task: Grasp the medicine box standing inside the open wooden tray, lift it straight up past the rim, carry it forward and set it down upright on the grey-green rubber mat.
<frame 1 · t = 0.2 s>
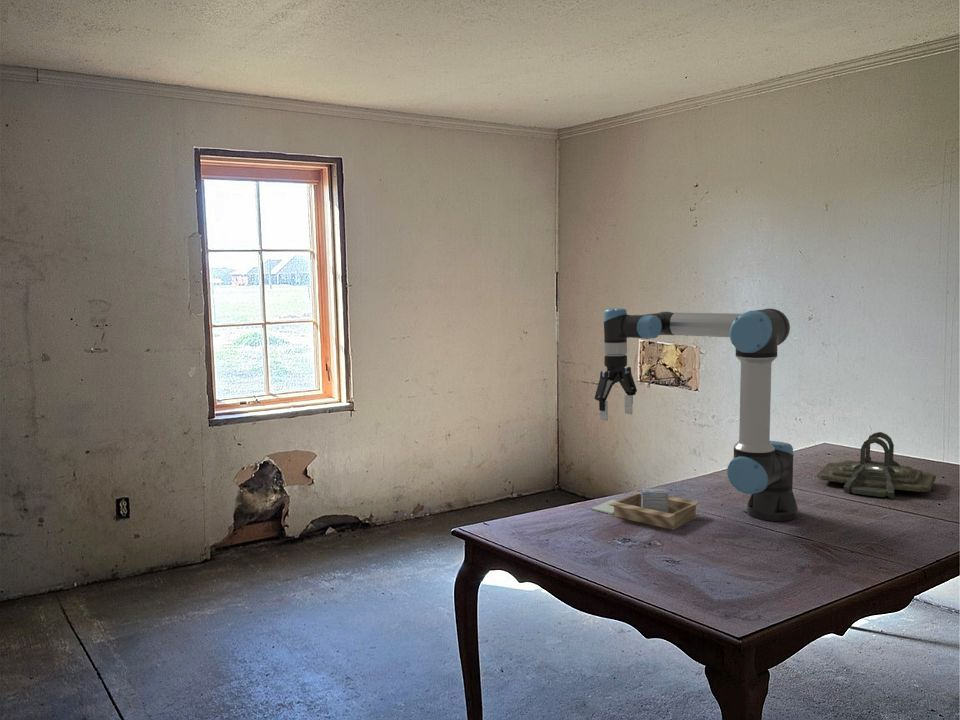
hand: (616, 417, 276), 28 cm above the table, fingers open, 13 cm apart
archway: (875, 486, 284), on the table
mat: (611, 507, 267), on the table
wooden tray: (654, 517, 256), on the table
medicine box: (654, 517, 256), resting in wooden tray
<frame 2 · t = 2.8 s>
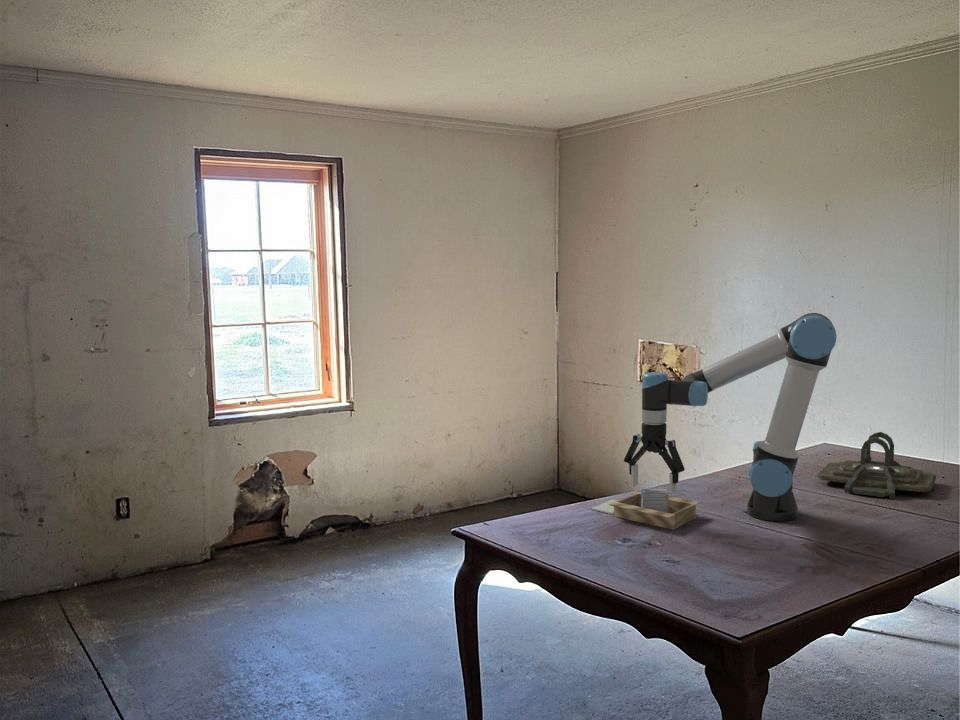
hand: (653, 489, 255), 9 cm above the table, fingers open, 13 cm apart
nothing on the table moved.
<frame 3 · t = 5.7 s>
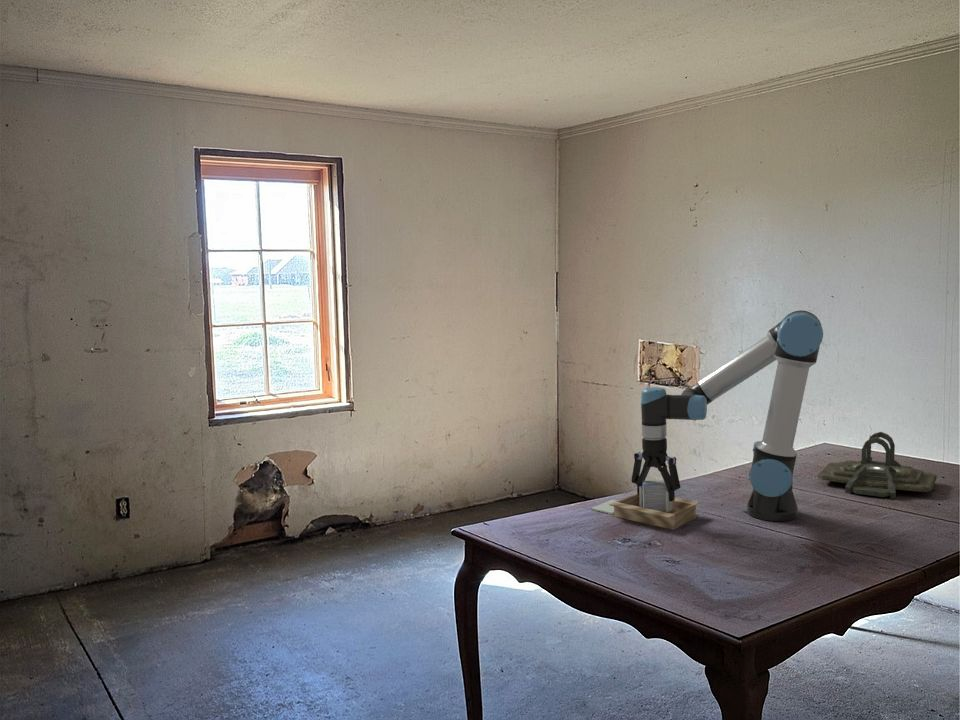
hand: (656, 508, 256), 3 cm above the table, fingers closed on medicine box, 9 cm apart
medicine box: (656, 509, 256), point 2 cm above the table, touching gripper
everything else where it was.
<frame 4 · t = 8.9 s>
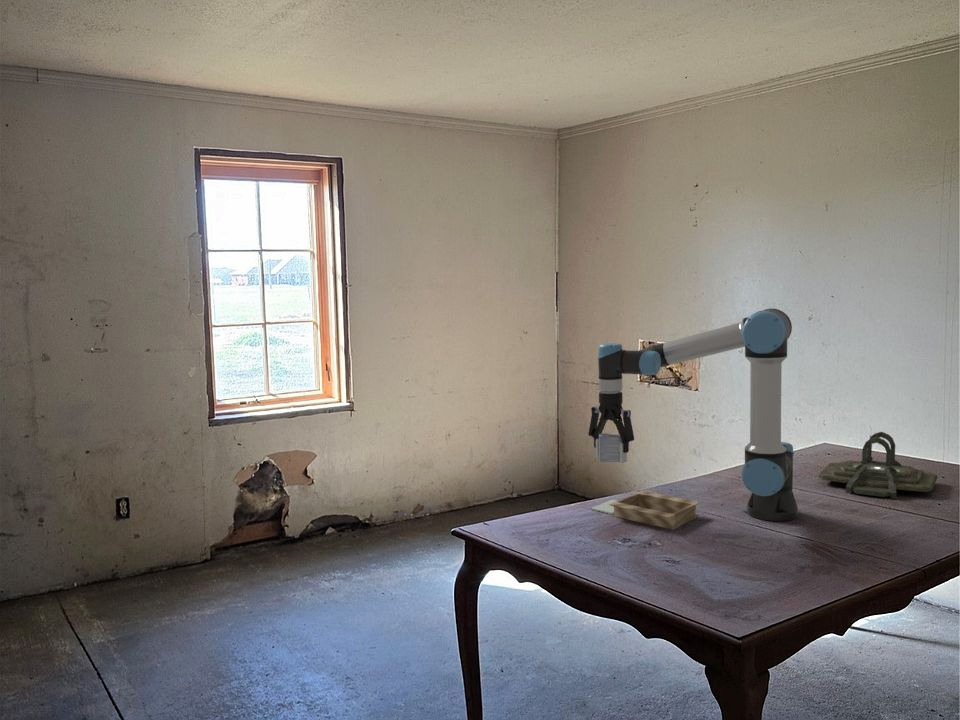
hand: (611, 460, 265), 16 cm above the table, fingers closed on medicine box, 9 cm apart
medicine box: (611, 461, 265), point 16 cm above the table, touching gripper
everything else where it was.
when the fingers open (2 cm above the table, at t = 12.2 s): medicine box stays where it is, resting on mat.
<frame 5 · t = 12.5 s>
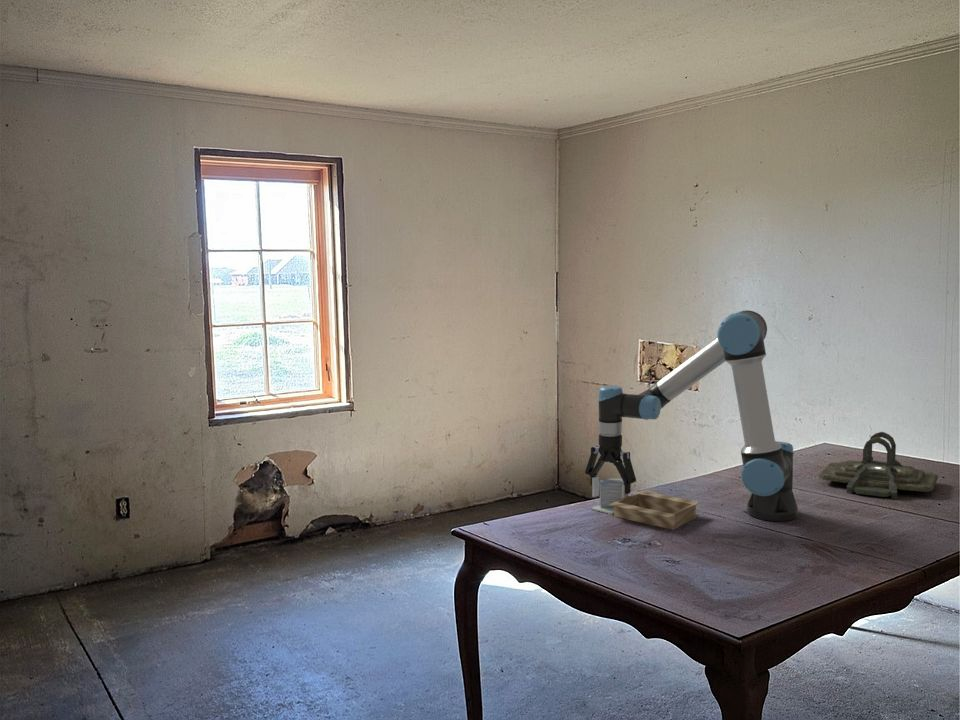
hand: (610, 499, 267), 3 cm above the table, fingers open, 11 cm apart
medicine box: (612, 506, 267), resting on mat
everything else where it was.
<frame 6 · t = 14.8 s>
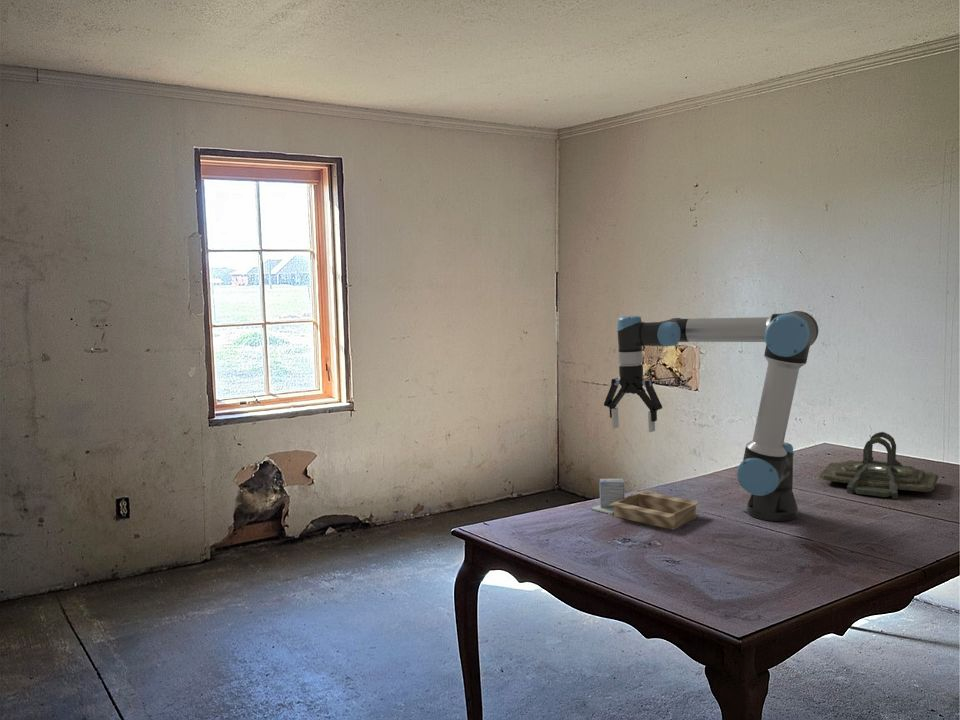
hand: (633, 429, 264), 26 cm above the table, fingers open, 13 cm apart
nothing on the table moved.
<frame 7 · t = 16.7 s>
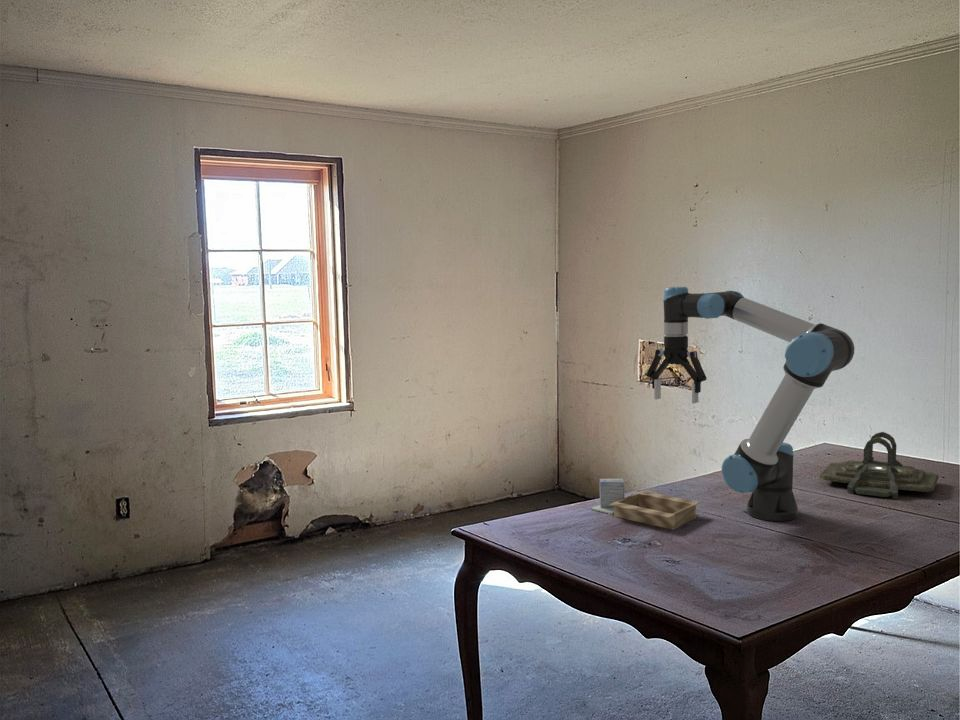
hand: (676, 400, 263), 35 cm above the table, fingers open, 13 cm apart
nothing on the table moved.
at the end: medicine box inside the target area on the mat (0.1 cm from its centre), point 0.4 cm above the mat's base; medicine box tilted 0°; the gripper is holding nothing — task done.
